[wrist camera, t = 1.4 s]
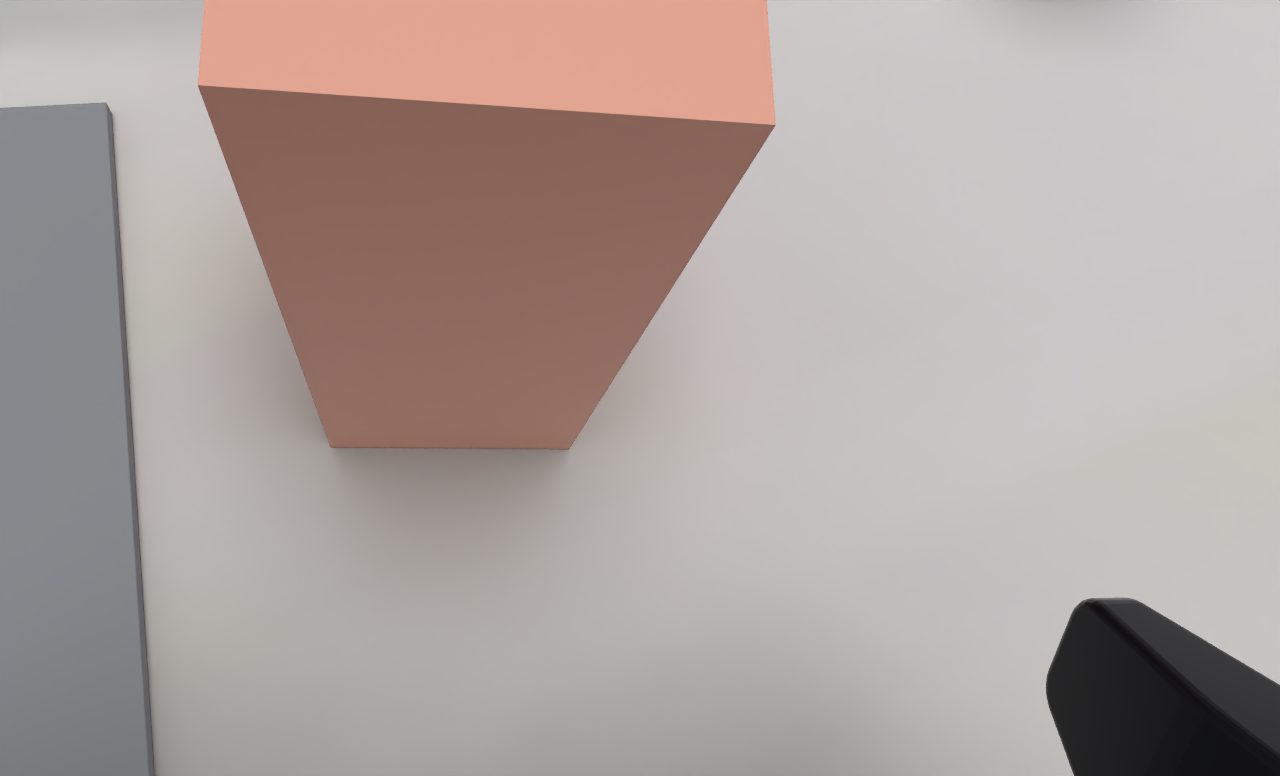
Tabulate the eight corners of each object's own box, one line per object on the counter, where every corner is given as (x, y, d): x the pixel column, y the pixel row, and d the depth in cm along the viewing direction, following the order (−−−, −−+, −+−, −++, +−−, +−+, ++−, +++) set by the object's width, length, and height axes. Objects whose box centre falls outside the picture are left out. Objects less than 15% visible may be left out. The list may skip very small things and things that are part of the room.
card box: (568, 449, 21) (775, 125, 9) (331, 447, 20) (198, 85, 8) (564, 213, 23) (740, -354, 10) (341, 201, 22) (239, -433, 9)
